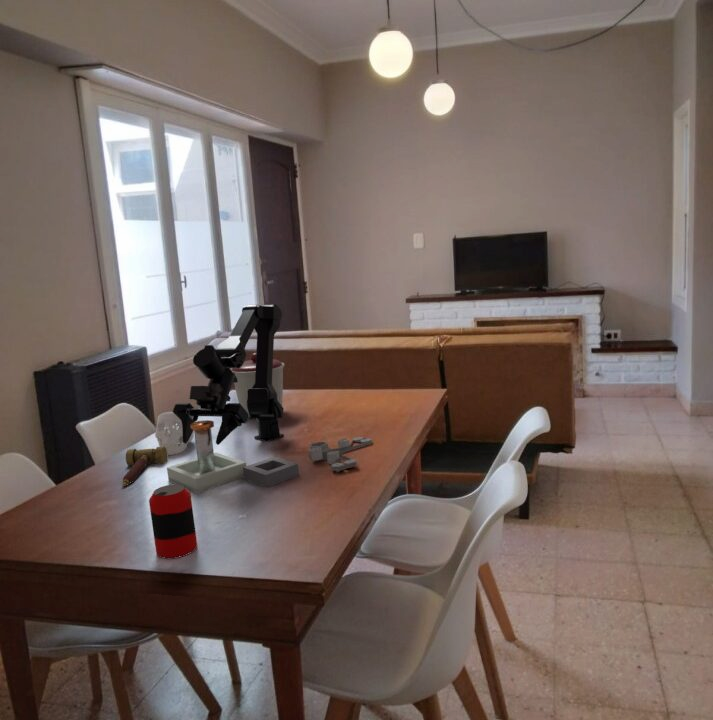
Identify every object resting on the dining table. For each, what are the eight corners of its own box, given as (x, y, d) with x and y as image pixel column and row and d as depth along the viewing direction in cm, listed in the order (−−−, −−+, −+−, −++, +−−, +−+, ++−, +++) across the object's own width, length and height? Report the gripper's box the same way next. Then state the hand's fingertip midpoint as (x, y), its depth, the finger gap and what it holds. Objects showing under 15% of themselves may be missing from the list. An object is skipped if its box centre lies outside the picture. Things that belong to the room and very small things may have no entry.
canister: (242, 425, 216) (235, 360, 212) (229, 414, 233) (222, 353, 229) (296, 415, 223) (290, 352, 219) (280, 405, 239) (274, 346, 236)
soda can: (147, 557, 127) (139, 496, 125) (172, 539, 134) (164, 481, 132) (182, 561, 124) (173, 498, 122) (205, 543, 131) (197, 483, 129)
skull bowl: (147, 454, 188) (149, 412, 193) (163, 466, 201) (164, 426, 206) (185, 451, 188) (186, 409, 193) (198, 463, 201) (198, 423, 205)
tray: (168, 481, 169) (166, 467, 168) (217, 465, 178) (216, 452, 177) (197, 493, 158) (195, 479, 158) (247, 475, 168) (245, 462, 167)
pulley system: (294, 477, 167) (353, 474, 163) (291, 459, 166) (351, 455, 163) (323, 447, 193) (375, 443, 190) (321, 431, 192) (373, 426, 189)
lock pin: (195, 472, 170) (189, 422, 168) (218, 469, 171) (212, 419, 169) (196, 479, 165) (190, 427, 163) (220, 476, 166) (214, 424, 164)
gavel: (142, 474, 166) (101, 478, 166) (145, 492, 167) (105, 495, 167) (165, 443, 186) (129, 446, 186) (168, 459, 187) (132, 462, 188)
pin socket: (244, 479, 166) (243, 467, 165) (276, 468, 172) (274, 456, 171) (267, 487, 159) (265, 475, 158) (299, 475, 165) (297, 463, 164)
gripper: (171, 372, 170) (151, 426, 162) (237, 371, 164) (219, 428, 156) (193, 395, 179) (174, 448, 171) (256, 395, 173) (239, 450, 165)
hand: (200, 443), depth 165 cm, fingers open, 9 cm apart
